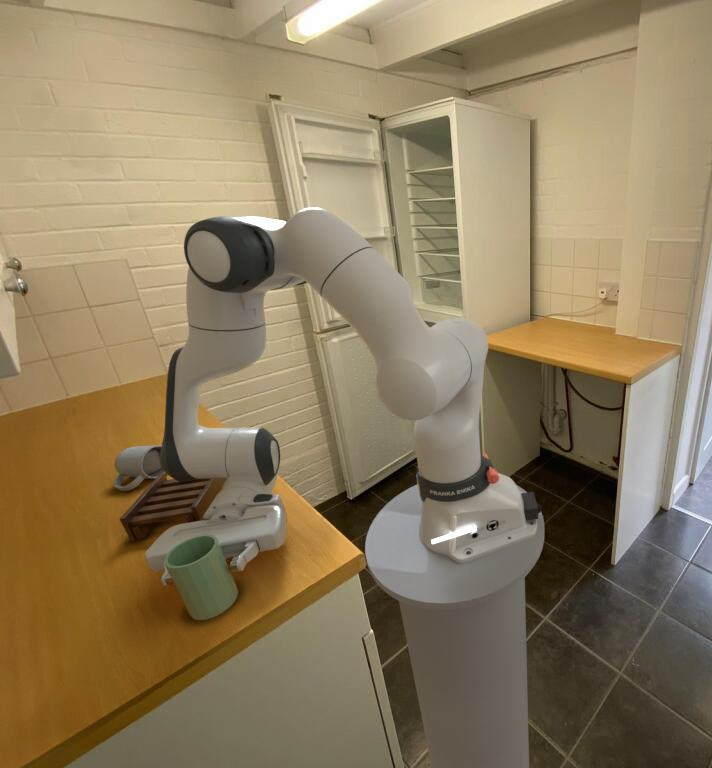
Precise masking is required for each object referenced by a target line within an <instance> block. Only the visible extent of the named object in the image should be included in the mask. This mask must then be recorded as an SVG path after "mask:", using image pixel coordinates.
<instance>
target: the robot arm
mask: <svg viewBox="0 0 712 768" xmlns="http://www.w3.org/2000/svg"><path fill="white" fill-rule="evenodd" d="M183 252H184V253H183V254H184V258H185V260H186V263H187V266H188V269H187V276H186V285H185V286H186V287H185V288H186V290H185V294H186V295H185V298H186V299H185V303H186V316H187V323H188V336H187V338H186V339H187V340H186V341H185V344H184V345H183V346H181V347H180V348H177V349H176V350H175V351H174V352H173V354H172V356H171V357H170V360H169V363H168V368H167V369H168V370H167V377H166V391H165V409H164V411H165V412H164V430H163V437H162V443H161V446H162V447H161V453H160V465H161V468H162V469H163V470H164V471H165V472H166V473H165V474H167V475H168V476H169V477H170V478H171V479H175V480H176V481H179V482H182V481H191V480H201V479H213V478H227V479H226V481H225V482H224V484H223V486H222V490H221V491H220V492H219V493H218V494H217V495H216V497H215V498H214V500H213V501H212V503H211V505H210V506H209V508H208V509H207V511H206V512H205V514H204V516H203V520H202V521H196V522H191V523H188V522H186V523H185V522H184V523H180V524H177V525H173V526H171V527H169V528H167V529H166V530H165V531H164V532H163V533H161V534H160V535H159V536H158V537H157V538H156V539H155V541H153V542H152V544H151V545H150V546H149V547H148V549H147V550H146V551H145V553H144V560H145V563H146V564H147V566H148V567H149V569H150V570H151V571H152V572H156V573H157V572H162V571H164V573H162V576H160V577H161V578H160V581H161V583H162V585H163V586H164V587H167V586H171V585H175V584H174V582H173V580H172V578H171V576H170V574H169V572H168V570H167V568H166V566H165V564H164V561H165V557H166V555H167V554H168V552H169V551H170V550H172V549H173V548H174V547H175V546H176V545H178V544H180V543H181V542H183V541H185V540H187V539H189V538H192V537H195V536H198V535H204V534H208V535H214V536H215V537H216V538H217V539H218V541H219V544H220V546H221V549H222V551H223V553H224V556H225V558H226V559H231V561H230V564H229V568H230V571H231V573H232V574H233V573H237V572H243V571H244V569H245V567H246V565H247V564H248V563H249V562H251V561H252V560H253V559H254V558H255V557H256V556H258V553H261V552H266V551H271V550H277V549H279V548H280V547H282V546H283V545H284V544H285V542H286V539H287V535H288V526H287V525H288V524H287V523H288V515H287V510H286V507H285V505H284V502H283V500H282V498H281V496H280V494H278V493H274V490H275V486H276V483H277V478H278V472H279V469H280V466H281V465H280V464H281V449H280V448H281V447H280V445H279V441H278V440H277V439H276V437H275V436H274V435H273V434H272V433H271V431H269V430H268V429H266V428H264V427H206V426H203V425H201V424H200V422H199V408H200V394H201V393H200V392H201V389H202V385H204V384H206V383H208V382H212V381H213V380H216V379H220V378H223V377H227V376H230V375H234V374H237V373H240V372H241V371H244V370H245V369H247V368H249V367H250V366H253V365H254V364H255V363H256V362H257V361H259V359H260V358H261V357H262V356H263V354H264V353H265V351H266V346H267V326H266V315H265V309H264V300H265V296H266V294H267V293H268V292H269V291H276V290H281V289H286V288H290V287H294V286H301V285H304V284H308V285H309V286H310V287H311V288H312V289H313V290H314V291H315V292H316V293H317V294H318V295H319V296H320V297H321V298H322V299H323V300H324V301H325V302H326V303H327V304H328V305H329V306H330V307H331V308H332V309H333V310H334V311H335V312H336V313H337V314H338V315H339V316H340V317H341V318H342V319H343V320H344V322H346V323H347V325H349V326H350V328H352V330H353V331H354V332H355V333H356V334H357V335H358V337H359V338H360V340H361V341H362V343H363V344H364V346H365V348H366V349H367V351H368V354H369V355H370V358H371V360H372V362H373V365H374V369H375V382H374V383H375V391H376V393H377V396H378V398H379V400H380V402H381V403H382V405H383V406H384V407H385V409H387V410H388V411H389V412H390V413H392V414H393V415H395V416H396V417H397V418H401V419H403V420H406V421H407V420H408V421H415V422H414V426H413V440H414V446H415V454H416V461H417V466H416V474H415V475H416V476H415V477H416V483H417V484H418V491H419V495H420V497H421V500H422V511H421V521H420V526H419V537H420V540H421V542H422V543H423V544H424V545H425V546H426V547H427V548H428V549H430V550H432V551H434V552H436V553H439V554H443V555H446V556H449V557H450V558H451V559H452V560H453V561H455V562H456V563H459V564H465V563H467V562H470V561H473V560H475V559H478V558H481V557H483V556H486V555H489V554H491V553H494V552H496V551H499V550H502V549H504V548H507V547H510V546H512V545H515V544H518V543H520V542H523V541H526V540H528V539H531V538H533V537H534V536H535V535H536V532H537V519H538V514H539V513H540V512H541V513H542V506H541V504H539V503H537V499H536V495H535V492H534V491H530V492H529V491H527V493H522V492H520V491H519V489H518V487H517V486H518V485H517V484H516V482H515V481H514V480H513V479H512V478H511V477H510V476H508V475H505V474H503V473H500V472H498V471H497V469H496V468H493V463H492V460H491V459H490V458H489V457H488V456H489V455H488V454H487V453H486V452H485V451H484V452H483V455H482V454H481V440H480V413H481V406H482V405H481V404H482V398H483V397H482V396H483V387H484V375H485V373H484V372H485V365H486V361H487V357H488V356H487V355H488V353H489V340H488V336H487V333H486V332H485V330H484V328H483V327H482V326H481V325H480V324H479V323H478V322H476V321H474V320H473V319H470V318H468V317H453V318H447V319H442V320H440V321H439V322H437V323H434V325H432V326H429V324H427V323H426V322H425V320H424V319H423V317H422V315H421V314H420V312H419V311H418V309H417V307H416V305H415V302H414V299H413V297H414V294H413V289H412V287H411V285H410V283H409V281H407V280H406V279H405V278H404V277H403V276H402V275H401V274H400V273H399V272H398V271H397V269H395V268H394V266H392V265H391V264H390V262H388V260H386V258H384V256H382V254H380V253H379V252H378V250H377V249H376V248H375V247H374V246H373V245H371V244H370V243H369V241H368V240H367V239H365V238H364V236H362V235H361V234H360V233H359V232H357V231H356V230H355V229H353V227H352V226H350V224H349V225H348V223H346V222H344V221H343V220H342V219H341V218H339V217H338V216H336V215H335V214H334V213H332V212H330V211H329V210H327V209H324V208H323V207H317V206H314V207H313V206H312V207H311V206H310V207H306V208H303V209H301V210H298V211H297V212H295V213H294V214H292V215H291V216H290V217H289V218H288V219H285V220H281V219H276V218H269V217H263V216H252V215H251V216H249V215H248V216H233V217H231V216H223V215H221V216H213V217H208V218H205V219H201V220H199V221H196V222H195V223H194V224H192V225H191V226H190V227H189V228H188V230H187V231H186V233H185V236H184V241H183ZM417 484H416V485H417ZM531 524H532V525H531ZM467 554H469V555H467Z"/></svg>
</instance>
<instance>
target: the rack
mask: <svg viewBox="0 0 712 768" xmlns="http://www.w3.org/2000/svg"><path fill="white" fill-rule="evenodd" d="M226 479H227V478H213V479H201V480H191V481H182V482H179V481H176V480H175V479H173V478H171V479H168V478H167V476H166V473H165V474H164V473H160V474H159V475H158V476H157V478H154V480H152V482H151V483H150V484H149V485H148V486H147V487H146V489H144V491H143V492H142V493H141V494H140V496H139V497H137V499H136V500H135V501H134V502H133V503H132V504H131V506H130V507H129V508H128V509H127V510H126V511H125V512H124V513H123V515H121V517H119V521H120V523H121V525H122V527H123V529H124V531H125V533H126V535H127V537H128V539H129V541H130V542H135V541H141V540H145V539H146V538H147V537H148V535H150V532H152V530H153V529H154V527H155V526H156V525H157V524H158V523H159V522H165V521H170V520H176V519H181V518H182V519H183V518H186V523H191V522H196V521H202V520H203V516H204V514H205V512H206V511H207V509H208V508H209V506H210V505H211V503H212V501H213V500H214V498H215V497H216V495H217V494H218V493H219V492H220V491H221V490H222V486H223V484H224V482H225V481H226Z"/></svg>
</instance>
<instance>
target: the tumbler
mask: <svg viewBox="0 0 712 768" xmlns="http://www.w3.org/2000/svg"><path fill="white" fill-rule="evenodd" d="M164 564H165V566H166V568H167V570H168V572H169V574H170V576H171V578H172V580H173V582H174V584H173V585H174V586H175V589H176V590H177V592H178V595H179V597H180V599H181V601H182V603H183V605H184V607H185V609H186V611H187V613H188V614H189V616H190V618H191V619H193V620H196V621H206V620H210V619H213V618H215V617H217V616H219V615H221V614H222V613H225V612H226V611H227V610H228V609H229V608H230V607H232V605H233V604H234V603H235V602H236V600H237V599H238V596H239V589H238V586H237V582H236V581H235V578H234V576H233V573H232V571H231V569H230V565H229V564H228V561H227V558H225V556H224V553H223V551H222V549H221V546H220V544H219V541H218V539H217V538H216V537H215V536H214V535H208V534H204V535H198V536H195V537H192V538H189V539H187V540H185V541H183V542H181V543H180V544H178V545H176V546H175V547H174V548H173V549H172V550H170V551H169V552H168V554H167V555H166V557H165V561H164Z"/></svg>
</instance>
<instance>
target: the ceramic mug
mask: <svg viewBox="0 0 712 768" xmlns="http://www.w3.org/2000/svg"><path fill="white" fill-rule="evenodd" d="M161 447H162V444H156V445H155V444H154V445H153V444H152V445H137V446H136V445H134V446H131V447H127V448H125V449H123V450H121V451H120V452H119V453H118V454H117V456H116V458H115V460H114V461H115V462H114V466H115V470H116V471H117V473H118V475H116V478H114V481H113V486H114V488H115V489H117V490H119V491H121V492H128V491H131V490H133V489H135V488H136V487H138V486H139V485H140V484H141V483H142V482H143V481H144V480H145V479H149V480H150V479H154V480H155V479H156V478H157V476H158V475H159V474H160V473H164V474H165V475H166V474H167V473H166V472H165V471H164V470H163V469H162V468H161V465H160V453H161ZM126 477H127V478H134V479H133V480H132V481H131V482H130V483H128V484H126V485H124V486H122V485H121V484H122V482H123V481H124V479H125V478H126Z"/></svg>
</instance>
